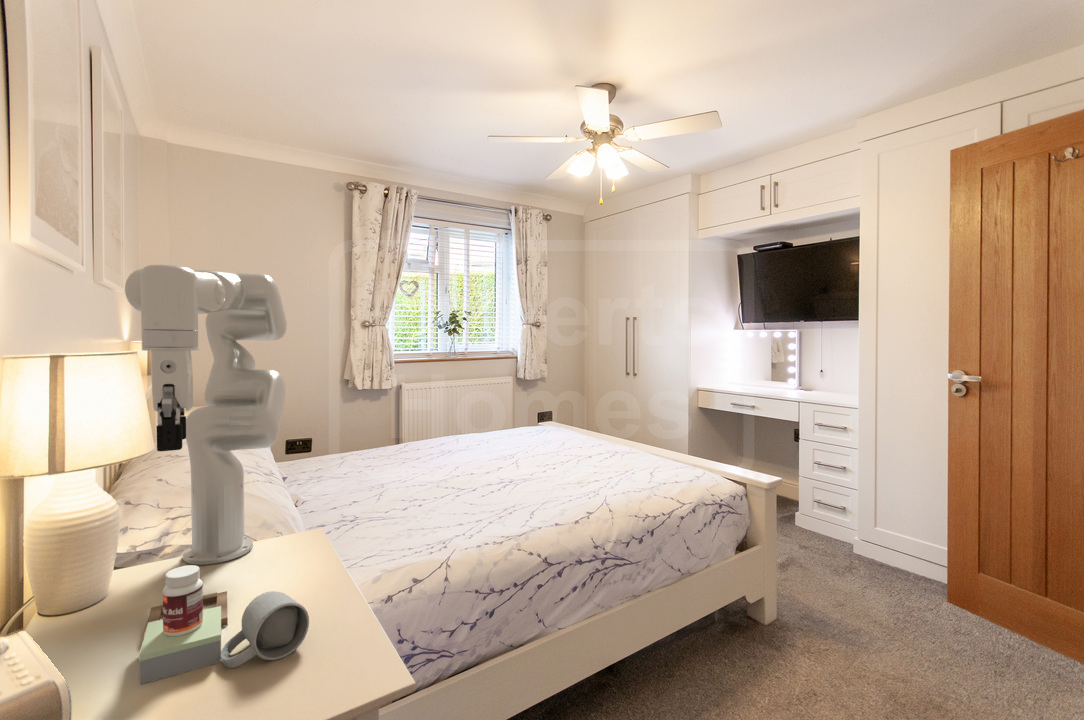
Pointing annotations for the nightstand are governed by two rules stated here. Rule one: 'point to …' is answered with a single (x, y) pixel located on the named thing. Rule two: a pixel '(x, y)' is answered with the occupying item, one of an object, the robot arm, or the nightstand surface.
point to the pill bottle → (182, 601)
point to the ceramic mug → (268, 629)
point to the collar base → (207, 600)
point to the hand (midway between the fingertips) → (172, 444)
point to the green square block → (180, 648)
